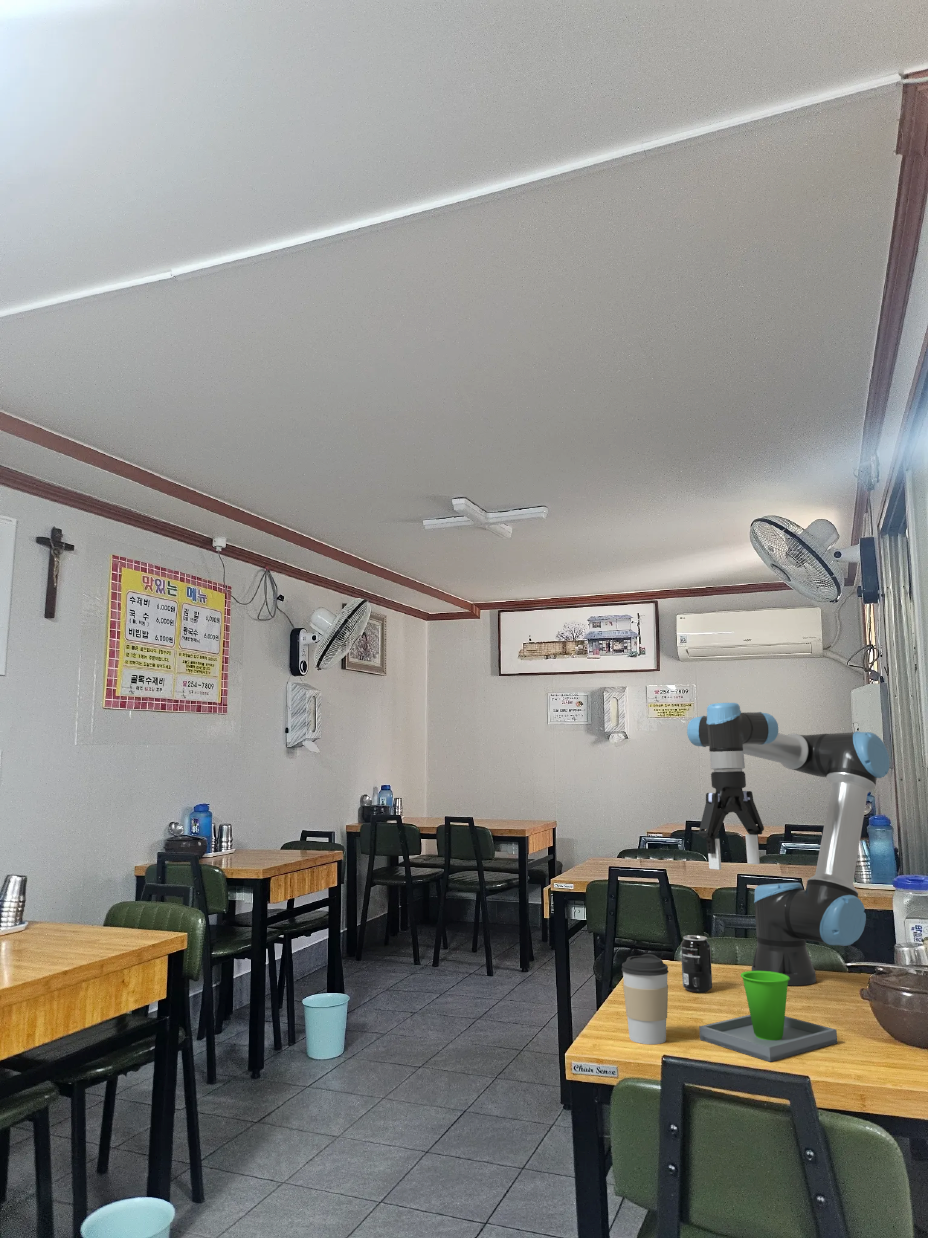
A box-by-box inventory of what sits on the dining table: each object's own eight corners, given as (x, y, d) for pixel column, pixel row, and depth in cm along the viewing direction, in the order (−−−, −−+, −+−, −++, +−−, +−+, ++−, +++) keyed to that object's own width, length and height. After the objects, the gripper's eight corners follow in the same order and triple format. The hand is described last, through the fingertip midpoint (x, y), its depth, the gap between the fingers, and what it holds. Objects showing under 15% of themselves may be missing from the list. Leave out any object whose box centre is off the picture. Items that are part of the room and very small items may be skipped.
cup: (797, 1045, 158) (793, 982, 160) (746, 1042, 160) (743, 980, 162) (789, 1031, 167) (785, 971, 169) (741, 1028, 169) (738, 969, 171)
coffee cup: (662, 1049, 159) (658, 963, 162) (616, 1041, 164) (613, 958, 166) (677, 1037, 166) (674, 955, 169) (633, 1029, 171) (630, 950, 174)
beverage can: (701, 986, 207) (699, 934, 209) (718, 993, 201) (715, 939, 203) (677, 988, 205) (674, 936, 207) (693, 995, 199) (690, 940, 201)
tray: (766, 1023, 175) (765, 1011, 176) (837, 1043, 162) (836, 1029, 163) (699, 1039, 164) (699, 1026, 165) (770, 1062, 151) (769, 1047, 152)
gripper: (747, 769, 206) (754, 860, 202) (678, 772, 192) (684, 870, 188) (774, 769, 200) (782, 863, 196) (705, 771, 186) (712, 872, 182)
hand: (734, 866), depth 192 cm, fingers open, 13 cm apart
